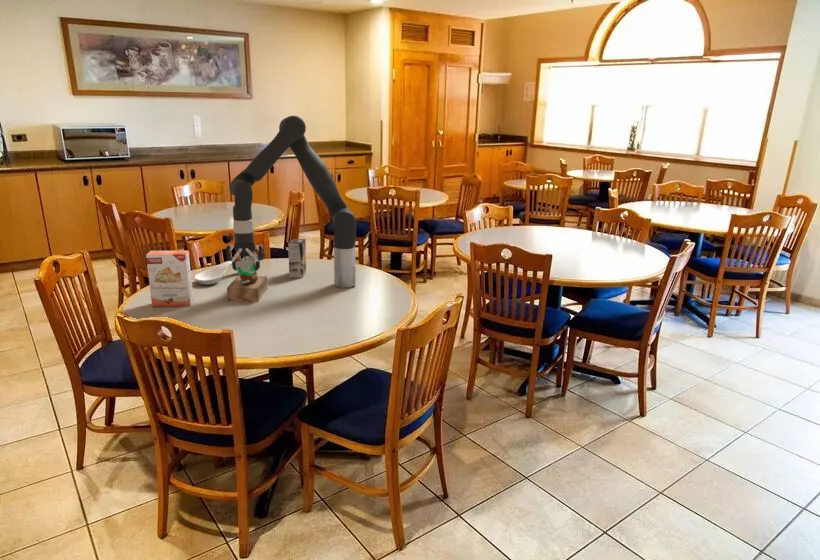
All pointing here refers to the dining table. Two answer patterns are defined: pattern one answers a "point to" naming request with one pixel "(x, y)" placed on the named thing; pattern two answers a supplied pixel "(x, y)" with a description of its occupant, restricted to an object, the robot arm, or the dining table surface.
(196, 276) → the spoon rest
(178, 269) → the cracker box
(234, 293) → the walnut block
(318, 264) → the dining table surface
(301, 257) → the coffee box
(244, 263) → the food container
